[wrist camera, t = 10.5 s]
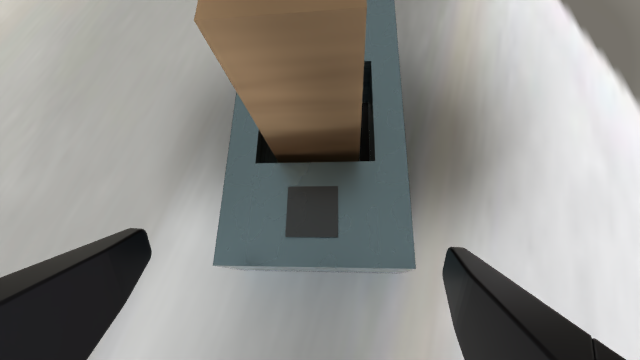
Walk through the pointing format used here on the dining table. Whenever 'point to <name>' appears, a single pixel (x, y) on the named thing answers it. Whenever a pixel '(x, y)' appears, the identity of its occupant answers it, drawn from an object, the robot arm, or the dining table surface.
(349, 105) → the wooden square peg
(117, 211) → the dining table surface
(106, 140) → the dining table surface
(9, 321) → the robot arm
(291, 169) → the socket block
